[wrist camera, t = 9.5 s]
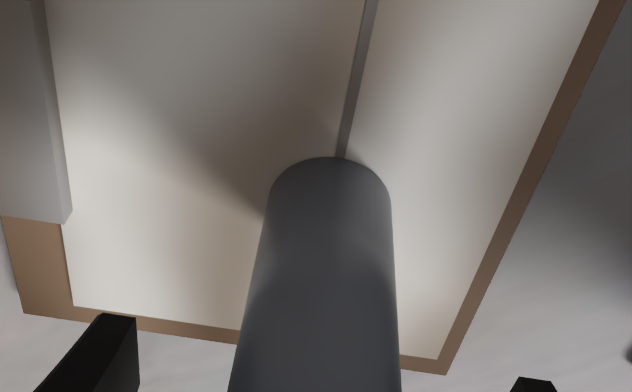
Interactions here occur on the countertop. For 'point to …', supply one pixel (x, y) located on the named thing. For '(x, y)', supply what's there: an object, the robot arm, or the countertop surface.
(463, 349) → the countertop surface
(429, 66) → the clipboard
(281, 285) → the cylinder
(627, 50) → the countertop surface
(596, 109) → the countertop surface
